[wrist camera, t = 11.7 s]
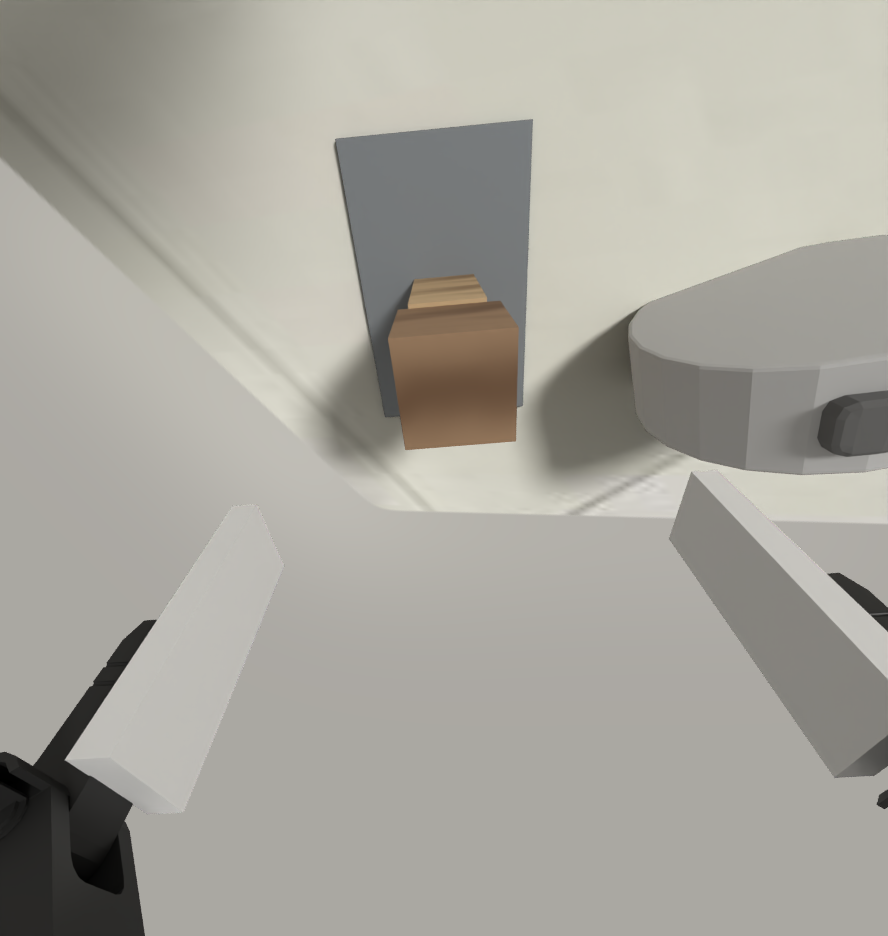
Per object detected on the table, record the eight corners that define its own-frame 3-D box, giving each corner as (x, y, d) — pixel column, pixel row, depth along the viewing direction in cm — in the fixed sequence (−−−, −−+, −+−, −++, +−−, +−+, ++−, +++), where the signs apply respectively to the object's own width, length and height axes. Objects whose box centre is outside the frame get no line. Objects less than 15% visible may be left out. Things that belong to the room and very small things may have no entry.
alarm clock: (609, 392, 40) (733, 525, 23) (598, 320, 36) (739, 418, 19) (844, 315, 36) (1191, 407, 20) (862, 225, 32) (1314, 246, 16)
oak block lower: (414, 279, 33) (411, 290, 29) (473, 274, 33) (479, 284, 29) (423, 360, 37) (421, 380, 33) (476, 356, 37) (481, 375, 33)
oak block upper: (411, 290, 29) (407, 304, 25) (479, 284, 29) (487, 297, 25) (421, 380, 33) (420, 406, 29) (481, 375, 33) (488, 400, 29)
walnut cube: (397, 309, 25) (387, 338, 20) (500, 300, 25) (518, 327, 19) (410, 403, 29) (405, 450, 23) (500, 396, 28) (515, 441, 23)
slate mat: (336, 139, 28) (335, 138, 28) (531, 120, 28) (532, 119, 28) (385, 415, 41) (385, 417, 40) (521, 404, 40) (522, 406, 40)
